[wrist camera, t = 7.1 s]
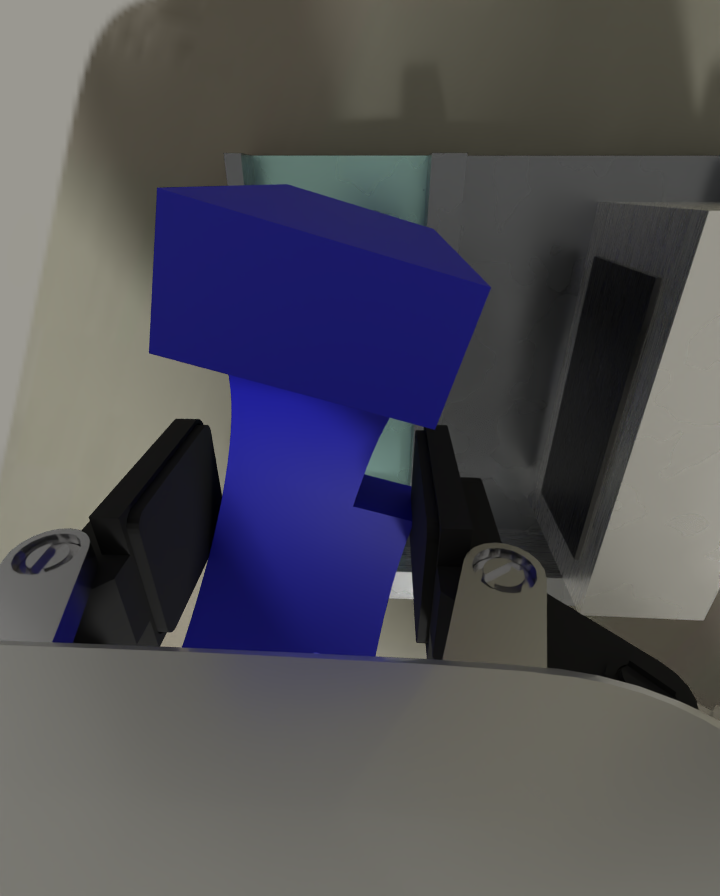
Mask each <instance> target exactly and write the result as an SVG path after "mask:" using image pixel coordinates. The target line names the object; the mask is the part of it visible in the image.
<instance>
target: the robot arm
mask: <svg viewBox="0 0 720 896" xmlns="http://www.w3.org/2000/svg"><path fill="white" fill-rule="evenodd" d="M221 501H222V493H221V487H220V482H219V476H218V470H217V464H216V458H215V453H214V447H213V441H212V435H211V430H210V427H209V426H208V425H203V423H202V421H201V420H200V419H175V420H174V421H173V422H172V423H171V425H170V426H169V427H168V428H167V429H166V430H165V431H164V432H163V434H162V435H161V436H160V437H159V438H158V439H157V440H156V442H155V443H154V444H153V445H152V446H151V447H150V448H149V449H148V451H147V452H146V453H145V454H144V455H143V456H142V457H141V459H140V460H139V461H138V462H137V463H136V464H135V465H134V466H133V468H132V469H131V470H130V471H129V472H128V473H127V474H126V475H125V477H124V478H123V479H122V480H121V481H120V482H119V483H118V485H117V486H116V487H115V488H114V489H113V490H112V491H111V492H110V494H109V495H108V496H107V497H106V498H105V499H104V500H103V502H102V503H101V504H100V505H99V506H98V507H97V508H96V509H95V511H94V512H93V513H92V514H91V515H90V516H89V519H90V521H89V523H88V524H87V525H86V526H85V527H84V528H83V529H82V531H81V530H76V529H71V528H70V529H57V530H52V531H47V532H44V533H41V534H38V535H36V536H33V537H31V538H29V539H27V540H26V541H24V542H22V543H20V544H19V545H18V546H16V547H15V548H14V549H12V550H11V551H10V552H9V553H8V555H7V556H6V557H5V558H4V559H3V561H2V563H1V564H0V896H720V706H718V705H715V706H714V708H713V710H712V711H711V710H709V709H707V708H706V707H704V706H702V705H700V704H698V703H697V701H696V699H695V697H694V696H693V694H692V692H691V691H690V689H689V687H688V686H687V685H686V684H685V683H684V681H683V680H682V679H681V678H680V677H679V676H678V675H677V674H676V673H675V672H673V671H672V670H671V669H669V668H668V667H667V666H665V665H664V664H663V663H661V662H659V661H658V660H656V659H655V658H653V657H651V656H650V655H648V654H646V653H645V652H643V651H641V650H640V649H638V648H636V647H635V646H633V645H632V644H630V643H628V642H627V641H625V640H623V639H622V638H620V637H618V636H617V635H615V634H613V633H612V632H610V631H608V630H607V629H605V628H604V627H602V626H600V625H599V624H597V623H595V622H594V621H592V620H590V619H589V618H587V617H585V616H584V615H582V614H581V613H579V612H577V611H576V610H574V609H572V608H571V607H569V606H567V605H566V604H564V603H562V602H561V601H559V600H558V599H556V598H554V597H553V596H551V595H549V594H548V593H547V578H546V574H545V570H544V568H543V567H542V565H541V564H540V562H539V561H538V560H537V559H536V558H535V557H533V556H532V555H531V554H530V553H528V552H526V551H524V550H522V549H521V548H518V547H515V546H512V545H509V544H503V543H502V542H501V539H500V535H499V532H498V529H497V526H496V523H495V520H494V516H493V513H492V510H491V507H490V504H489V501H488V498H487V494H486V491H485V488H484V485H483V482H482V480H481V478H474V477H460V474H459V470H458V466H457V462H456V458H455V454H454V450H453V445H452V441H451V437H450V433H449V429H448V426H447V425H437V426H436V428H435V430H434V429H430V428H426V427H424V430H416V431H415V442H414V457H413V472H412V487H411V510H412V529H411V531H410V534H409V536H410V552H411V568H412V584H413V600H414V616H415V632H416V642H417V643H426V653H427V659H415V658H395V657H375V656H354V655H334V654H314V653H293V652H271V651H249V650H226V649H204V648H180V647H160V645H161V643H162V641H163V639H164V637H165V635H166V633H167V632H173V631H174V629H175V628H176V626H177V624H178V622H179V620H180V617H181V615H182V613H183V611H184V609H185V607H186V605H187V603H188V600H189V598H190V596H191V594H192V592H193V590H194V588H195V586H196V583H197V581H198V579H199V577H200V575H201V573H202V571H203V569H204V566H205V564H206V562H207V560H208V558H209V554H210V550H211V546H212V542H213V538H214V533H215V529H216V525H217V520H218V515H219V511H220V506H221Z"/></svg>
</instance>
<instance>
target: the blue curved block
mask: <svg viewBox="0 0 720 896" xmlns="http://www.w3.org/2000/svg"><path fill="white" fill-rule="evenodd" d="M490 289H491V287H490V286H489V285H488V284H487V283H486V282H485V281H484V280H483V279H482V278H481V276H480V275H479V274H478V273H477V272H476V271H475V270H474V269H473V268H472V267H471V266H470V265H469V264H468V263H467V262H466V261H465V260H464V259H463V258H462V257H461V256H460V255H459V254H458V253H457V252H456V251H455V250H454V249H453V248H452V247H451V246H450V245H449V244H448V243H447V242H446V241H445V240H444V239H443V238H442V237H441V236H440V235H439V234H438V233H437V232H436V231H435V230H434V229H432V228H429V227H426V226H422V225H419V224H416V223H412V222H409V221H406V220H403V219H399V218H396V217H393V216H390V215H386V214H383V213H380V212H377V211H373V210H370V209H367V208H363V207H360V206H357V205H354V204H350V203H347V202H344V201H341V200H337V199H334V198H331V197H328V196H324V195H321V194H318V193H315V192H311V191H308V190H305V189H301V188H298V187H295V186H292V185H288V184H274V185H237V186H201V187H164V188H157V202H156V222H155V242H154V262H153V283H152V303H151V323H150V343H149V353H150V354H154V355H157V356H161V357H165V358H169V359H172V360H176V361H180V362H184V363H187V364H191V365H195V366H198V367H202V368H206V369H210V370H213V371H217V372H221V373H225V374H228V375H229V381H230V388H231V409H232V418H231V436H230V448H229V456H228V464H227V471H226V478H225V484H224V490H223V495H222V501H221V506H220V511H219V515H218V520H217V525H216V529H215V533H214V538H213V542H212V546H211V550H210V554H209V558H208V562H207V566H206V569H205V573H204V577H203V580H202V584H201V587H200V591H199V594H198V598H197V601H196V604H195V608H194V611H193V614H192V618H191V621H190V624H189V627H188V630H187V633H186V637H185V640H184V643H183V646H182V648H204V649H226V650H249V651H271V652H293V653H314V654H334V655H354V656H376V651H377V646H378V641H379V637H380V632H381V628H382V623H383V619H384V615H385V611H386V607H387V603H388V599H389V596H390V592H391V588H392V585H393V581H394V578H395V575H396V572H397V568H398V565H399V562H400V559H401V556H402V553H403V550H404V547H405V544H406V542H407V539H408V536H409V534H410V531H411V529H412V510H411V486H408V485H404V484H400V483H396V482H393V481H389V480H385V479H381V478H377V477H373V476H369V475H365V471H366V468H367V466H368V463H369V461H370V458H371V456H372V453H373V451H374V449H375V446H376V444H377V442H378V440H379V438H380V436H381V434H382V431H383V429H384V428H385V426H386V424H387V422H388V420H389V419H390V418H393V419H396V420H400V421H404V422H407V423H411V424H415V425H419V426H422V427H426V428H430V429H434V430H435V428H436V426H437V423H438V421H439V418H440V416H441V413H442V411H443V408H444V406H445V403H446V401H447V398H448V395H449V393H450V390H451V388H452V385H453V383H454V380H455V378H456V375H457V373H458V370H459V368H460V365H461V363H462V360H463V358H464V355H465V352H466V350H467V347H468V345H469V342H470V340H471V337H472V335H473V332H474V330H475V327H476V325H477V322H478V320H479V317H480V315H481V312H482V309H483V307H484V304H485V302H486V299H487V297H488V294H489V292H490Z"/></svg>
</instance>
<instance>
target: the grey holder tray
mask: <svg viewBox="0 0 720 896" xmlns="http://www.w3.org/2000/svg"><path fill="white" fill-rule="evenodd" d="M224 160H225V169H226V177H227V186H237V185H274V184H288V185H292V186H295V187H298V188H301V189H305V190H308V191H311V192H315V193H318V194H321V195H324V196H328V197H331V198H334V199H337V200H341V201H344V202H347V203H350V204H354V205H357V206H360V207H363V208H367V209H370V210H373V211H377V212H380V213H383V214H386V215H390V216H393V217H396V218H399V219H403V220H406V221H409V222H412V223H416V224H419V225H422V226H426V227H429V228H432V229H434V230H435V231H436V232H437V233H438V234H439V235H440V236H441V237H442V238H443V239H444V240H445V241H446V242H447V243H448V244H449V245H450V246H451V247H452V248H453V249H454V250H455V251H456V252H457V253H458V254H459V255H460V256H461V257H462V258H463V259H464V260H465V261H466V262H467V263H468V264H469V265H470V266H471V267H472V268H473V269H474V270H475V271H476V272H477V273H478V274H479V275H480V276H481V278H482V279H483V280H484V281H485V282H486V283H487V284H488V285H489V286H490V287H491V289H490V292H489V294H488V297H487V299H486V302H485V304H484V307H483V309H482V312H481V315H480V317H479V320H478V322H477V325H476V327H475V330H474V332H473V335H472V337H471V340H470V342H469V345H468V347H467V350H466V352H465V355H464V358H463V360H462V363H461V365H460V368H459V370H458V373H457V375H456V378H455V380H454V383H453V385H452V388H451V390H450V393H449V395H448V398H447V401H446V403H445V406H444V408H443V411H442V413H441V416H440V418H439V421H438V423H437V425H447V426H448V429H449V433H450V437H451V441H452V445H453V450H454V454H455V458H456V462H457V466H458V470H459V474H460V477H474V478H481V480H482V482H483V485H484V488H485V491H486V494H487V498H488V501H489V504H490V507H491V510H492V513H493V516H494V520H495V523H496V526H497V529H498V532H499V535H500V539H501V542H502V543H503V544H509V545H512V546H515V547H518V548H521V549H522V550H524V551H526V552H528V553H530V554H531V555H532V556H533V557H535V558H536V559H537V560H538V561H539V562H540V564H541V565H542V567H543V568H544V570H545V574H546V578H547V593H548V594H549V595H551V596H553V597H554V598H556V599H558V600H559V601H561V602H562V603H564V604H566V605H567V606H575V607H576V609H577V612H579V613H581V614H582V615H587V616H610V617H633V618H656V619H679V620H702V621H704V619H705V617H706V615H707V613H708V611H709V609H710V607H711V605H712V603H713V601H714V599H715V597H716V595H717V593H718V591H719V589H720V156H467V153H431V154H430V155H428V156H252V155H247V154H243V153H224ZM416 430H424V427H422V426H419V425H415V424H411V423H407V422H404V421H400V420H396V419H393V418H390V419H389V420H388V422H387V424H386V426H385V428H384V429H383V431H382V434H381V436H380V438H379V440H378V442H377V444H376V446H375V449H374V451H373V453H372V456H371V458H370V461H369V463H368V466H367V468H366V471H365V475H369V476H373V477H377V478H381V479H385V480H389V481H393V482H396V483H400V484H404V485H408V486H411V487H412V472H413V457H414V442H415V431H416ZM389 598H397V599H413V584H412V568H411V552H410V536H408V539H407V542H406V544H405V547H404V550H403V553H402V556H401V559H400V562H399V565H398V568H397V572H396V575H395V578H394V581H393V585H392V588H391V592H390V596H389Z"/></svg>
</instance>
